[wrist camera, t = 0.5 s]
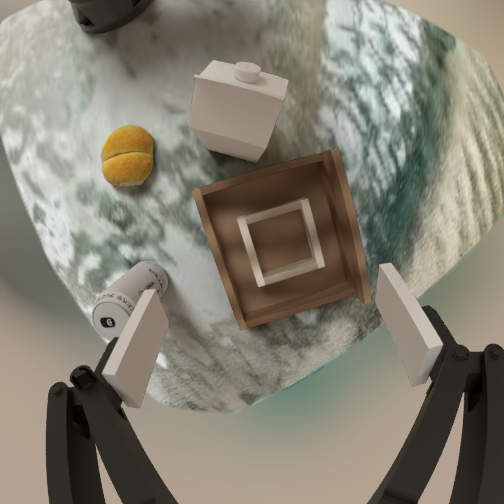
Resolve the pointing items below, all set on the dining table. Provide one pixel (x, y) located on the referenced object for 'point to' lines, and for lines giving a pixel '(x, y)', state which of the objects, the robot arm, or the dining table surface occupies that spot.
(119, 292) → the energy drink can
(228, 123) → the milk carton
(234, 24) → the dining table surface
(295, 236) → the walled box
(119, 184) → the bread roll
